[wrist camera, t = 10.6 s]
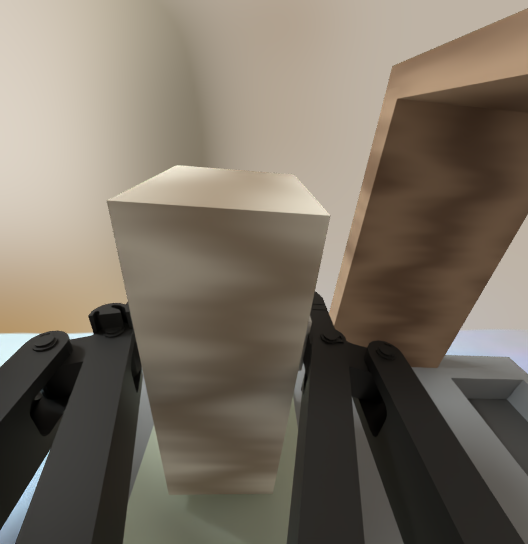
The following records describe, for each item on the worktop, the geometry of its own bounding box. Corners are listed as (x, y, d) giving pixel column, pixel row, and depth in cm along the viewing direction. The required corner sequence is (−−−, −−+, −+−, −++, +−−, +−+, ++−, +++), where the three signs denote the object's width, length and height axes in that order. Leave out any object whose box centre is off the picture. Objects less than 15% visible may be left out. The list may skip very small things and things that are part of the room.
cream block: (168, 494, 12) (106, 200, 6) (193, 385, 18) (176, 165, 11) (272, 493, 13) (330, 215, 6) (266, 387, 18) (294, 174, 11)
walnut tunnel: (375, 540, 12) (926, -162, 3) (319, 351, 23) (392, 66, 13) (565, 536, 13) (1533, -31, 3) (427, 354, 24) (571, 86, 14)
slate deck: (15, 683, 10) (-22, 672, 9) (148, 370, 23) (143, 343, 22) (740, 640, 13) (814, 627, 11) (492, 378, 26) (509, 355, 24)
